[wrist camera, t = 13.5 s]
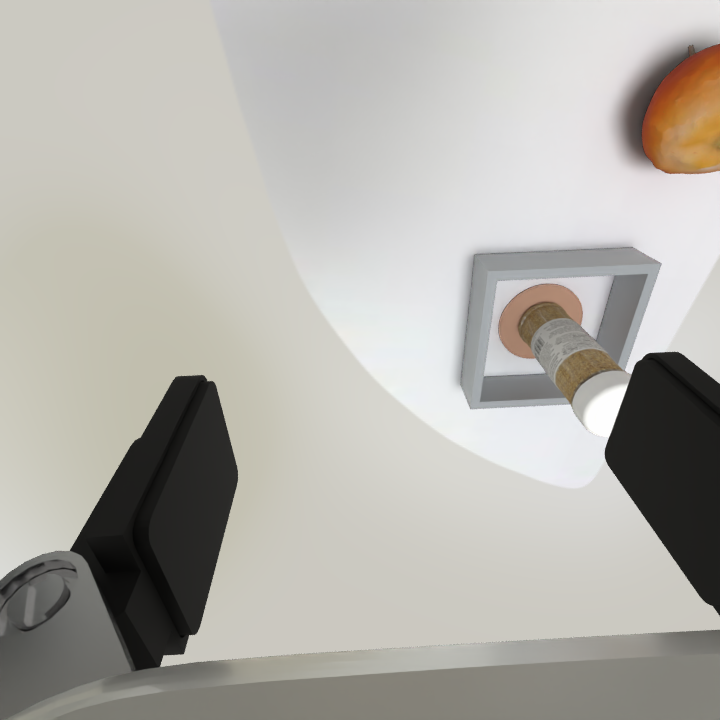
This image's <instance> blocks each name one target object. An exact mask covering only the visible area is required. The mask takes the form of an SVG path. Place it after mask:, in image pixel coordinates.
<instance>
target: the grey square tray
mask: <svg viewBox="0 0 720 720" xmlns="http://www.w3.org/2000/svg"><path fill="white" fill-rule="evenodd" d="M661 264H662V263H660V262H658V261H656V260H654V259H653V258H651V257H649V256H647V255H645V254H644V253H642V252H640V251H638V250H637V249H635V248H633V247H631V248H609V249H587V250H565V251H542V252H520V253H498V254H476V255H475V257H474V266H473V275H472V284H471V294H470V303H469V312H468V321H467V330H466V340H465V349H464V358H463V367H462V376H461V387H462V389H463V392H464V394H465V397H466V399H467V402H468V404H469V407H470V409H485V408H505V407H525V406H546V405H566V404H570V403H569V401H568V400H567V399H566V397H565V396H564V395H563V393H562V392H561V391H560V390H559V389H558V388H557V387H556V385H555V384H554V383H553V381H552V380H551V379H550V377H549V376H548V374H536V375H515V376H494V377H483V376H484V369H485V362H486V355H487V348H488V341H489V333H490V326H491V319H492V312H493V305H494V298H495V291H496V284H497V281H502V280H524V279H546V278H568V277H589V276H611V275H615V279H614V282H613V286H612V289H611V292H610V296H609V299H608V303H607V306H606V310H605V313H604V316H603V320H602V323H601V327H600V330H599V333H598V337H597V340H596V342H597V343H598V344H599V345H600V346H601V347H602V348H603V349H604V350H605V351H606V352H607V353H608V355H609V356H610V357H611V358H612V359H613V361H615V363H616V364H617V365H619V367H621V369H622V370H624V371H625V368H626V365H627V362H628V359H629V357H630V354H631V351H632V348H633V345H634V342H635V339H636V336H637V333H638V331H639V328H640V325H641V322H642V319H643V316H644V313H645V310H646V307H647V305H648V302H649V299H650V296H651V293H652V290H653V287H654V284H655V282H656V279H657V276H658V273H659V270H660V267H661ZM545 302H550V303H556V304H558V305H560V306H561V307H562V308H563V309H564V310H565V311H566V313H567V314H568V315H569V316H570V317H571V318H572V319H573V320H574V321H575V322H577V323H578V324H579V325H581V322H582V315H583V311H582V306H581V303H580V301H579V299H578V298H577V296H576V295H575V294H574V293H573V292H572V291H570V290H569V289H567V288H565V287H563V286H560V285H556V284H542V285H537V286H534V287H531V288H529V289H526V290H524V291H523V292H521V293H520V294H518V295H517V296H516V297H514V298H513V299H512V300H511V301H510V303H509V304H508V305H507V306H506V308H505V309H504V311H503V313H502V315H501V318H500V321H499V336H500V339H501V341H502V343H503V344H504V346H505V347H506V348H507V350H509V351H510V352H511V353H513V354H514V355H516V356H519V357H522V358H532V359H534V358H535V356H534V355H533V353H532V350H531V349H530V347H529V346H528V345H527V343H525V342H524V341H523V340H522V339H521V337H520V335H519V331H518V327H519V322H520V319H521V317H522V316H523V315H524V314H525V312H526V311H527V310H529V309H530V308H531V307H533V306H534V305H536V304H540V303H545Z"/></svg>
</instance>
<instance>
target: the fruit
mask: <svg viewBox="0 0 720 720" xmlns="http://www.w3.org/2000/svg"><path fill="white" fill-rule="evenodd" d="M688 48H689V57H688V58H687V59H685V60H684V61H683V62H681V63H680V64H679V65H678V66H677V67H676V68H675V69H673V70H672V71H671V72H670V73H669V74H668V75H667V76H666V77H665V78H664V79H663V81H662V82H661V84H660V85H659V87H658V88H657V90H656V91H655V93H654V95H653V97H652V99H651V101H650V104H649V106H648V109H647V111H646V114H645V116H644V119H643V124H642V142H643V149H644V152H645V154H646V156H647V157H648V158H649V159H650V160H651V161H652V163H653V165H654V166H655V167H656V168H657V169H660V170H662V171H664V172H665V173H669V174H680V173H683V174H702V173H710V172H715V171H720V44H717V45H714V46H711V47H709V48H706V49H704V50H702V51H700V52H698V53H695V51H694V47H693V45H692V46H689V47H688Z"/></svg>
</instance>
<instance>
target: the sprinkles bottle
mask: <svg viewBox="0 0 720 720" xmlns="http://www.w3.org/2000/svg"><path fill="white" fill-rule="evenodd" d="M518 331H519V335H520V337H521V339H522V340H523V341H524V342H525V343H527V345H528V346H529V347H530V349H531V350H532V353H533V355H534V356H535V358H536V359H537V360H538V362H539V363H540V365H541V366H542V367H543V369H544V370H545V372H546V373H547V374H548V376H549V377H550V379H551V380H552V381H553V383H554V384H555V385H556V387H557V388H558V389H559V390H560V391H561V392H562V393H563V395H564V396H565V397H566V399H567V400H568V401H569V403H570V404H571V406H572V409H573V412H574V414H575V415H576V417H577V418H578V419H579V421H580V422H581V423H582V425H583V426H584V427H585V428H586V429H587V430H588V431H589V432H590V433H592V434H594V435H597V436H601V437H610V434H611V431H612V428H613V425H614V423H615V420H616V417H617V414H618V411H619V409H620V406H621V403H622V400H623V397H624V395H625V392H626V389H627V386H628V384H629V381H630V378H631V374H629V373H627V372H626V371H624V370H622V369H621V367H619V365H617V364H616V363H615V361H613V359H612V358H611V357H610V356H609V355H608V353H607V352H606V351H605V350H604V349H603V348H602V347H601V346H600V345H599V344H598V343H597V342H596V341H595V340H594V339H593V338H592V337H591V336H590V335H589V334H588V333H587V332H586V331H585V330H584V329H583V328H582V327H581V326H580V325H579V324H578V323H577V322H575V321H574V320H573V319H572V318H571V317H570V316H569V315H568V314H567V313H566V311H565V310H564V309H563V308H562V307H561V306H560V305H558V304H556V303H550V302H545V303H540V304H536V305H534V306H533V307H531V308H530V309H529V310H527V311H526V312H525V314H524V315H523V316H522V317H521V319H520V322H519V327H518Z"/></svg>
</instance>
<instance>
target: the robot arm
mask: <svg viewBox="0 0 720 720" xmlns="http://www.w3.org/2000/svg"><path fill="white" fill-rule="evenodd" d="M605 459H606V462H607V464H608V466H609V467H610V469H611V470H612V471H613V473H614V474H615V476H616V477H617V479H618V480H619V481H620V483H621V484H622V486H623V487H624V489H625V490H626V491H627V493H628V494H629V496H630V497H631V499H632V500H633V501H634V503H635V504H636V506H637V507H638V509H639V510H640V511H641V513H642V514H643V516H644V517H645V519H646V520H647V521H648V523H649V524H650V526H651V527H652V528H653V530H654V531H655V533H656V534H657V536H658V537H659V539H660V540H661V541H662V543H663V544H664V546H665V547H666V548H667V550H668V551H669V553H670V554H671V556H672V557H673V559H674V560H675V561H676V563H677V564H678V565H679V567H680V569H681V570H682V571H683V573H684V574H685V576H686V577H687V579H688V580H689V581H690V583H691V584H692V586H693V587H694V589H695V590H696V591H697V593H698V594H699V596H700V597H701V598H702V599H703V600H704V601H705V602H706V603H707V604H709V605H712V606H713V607H714V608H715V610H716V611H717V613H718V614H719V615H720V384H719V383H718V382H717V381H715V380H714V379H713V378H712V377H710V376H709V375H708V374H707V373H705V372H704V371H703V370H701V369H700V368H699V367H698V366H696V365H695V364H694V363H693V362H691V361H690V360H689V359H688V358H686V357H685V356H684V355H682V354H681V353H679V352H662V353H649V354H646V355H645V356H644V357H643V359H642V360H640V361H638V362H637V363H636V365H635V367H634V370H633V372H632V375H631V378H630V381H629V384H628V386H627V389H626V392H625V395H624V397H623V400H622V403H621V406H620V409H619V411H618V414H617V417H616V420H615V423H614V425H613V428H612V431H611V434H610V437H609V439H608V442H607V445H606V448H605ZM237 482H238V470H237V465H236V461H235V457H234V454H233V450H232V446H231V442H230V438H229V434H228V430H227V427H226V423H225V419H224V415H223V411H222V407H221V404H220V399H219V396H218V392H217V388H216V385H215V383H214V382H213V381H207V379H206V378H205V376H203V375H197V376H178V377H175V379H174V380H173V382H172V383H171V385H170V387H169V389H168V391H167V392H166V394H165V396H164V398H163V399H162V401H161V403H160V405H159V406H158V408H157V410H156V412H155V414H154V415H153V417H152V419H151V420H150V422H149V424H148V426H147V428H146V429H145V431H144V433H143V435H142V436H141V438H139V439H137V440H135V441H134V443H133V444H132V445H131V446H130V448H129V450H128V452H127V453H126V455H125V457H124V458H123V460H122V462H121V464H120V465H119V467H118V469H117V470H116V472H115V474H114V476H113V477H112V479H111V481H110V482H109V484H108V486H107V488H106V490H105V491H104V493H103V494H102V496H101V498H100V500H99V501H98V503H97V505H96V506H95V508H94V510H93V512H92V513H91V515H90V517H89V518H88V520H87V522H86V524H85V526H84V527H83V529H82V531H81V532H80V534H79V536H78V537H77V539H76V541H75V543H74V544H73V546H72V548H71V549H70V551H55V552H51V553H47V554H42V555H40V556H38V557H35V558H33V559H31V560H29V561H26V562H24V563H23V564H21V565H20V566H18V567H17V568H16V569H14V570H12V571H11V572H9V573H8V574H7V575H6V576H5V577H4V578H3V579H1V580H0V720H720V630H707V631H688V632H669V633H648V634H631V635H612V636H594V637H576V638H558V639H541V640H524V641H508V642H507V641H506V642H489V643H471V644H456V645H455V644H454V645H438V646H422V647H405V648H390V649H375V650H374V649H373V650H358V651H341V652H326V653H309V654H294V655H282V656H269V657H257V658H245V659H232V660H219V661H207V662H196V663H188V664H181V665H173V666H165V667H160V665H161V661H162V658H163V655H178V654H184V652H185V648H186V644H187V641H188V637H189V635H195V634H196V633H197V632H198V630H199V627H200V624H201V621H202V617H203V613H204V609H205V605H206V601H207V598H208V593H209V590H210V586H211V582H212V579H213V575H214V571H215V567H216V563H217V559H218V555H219V551H220V548H221V544H222V540H223V536H224V532H225V529H226V525H227V521H228V517H229V513H230V509H231V506H232V502H233V498H234V494H235V490H236V487H237Z"/></svg>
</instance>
